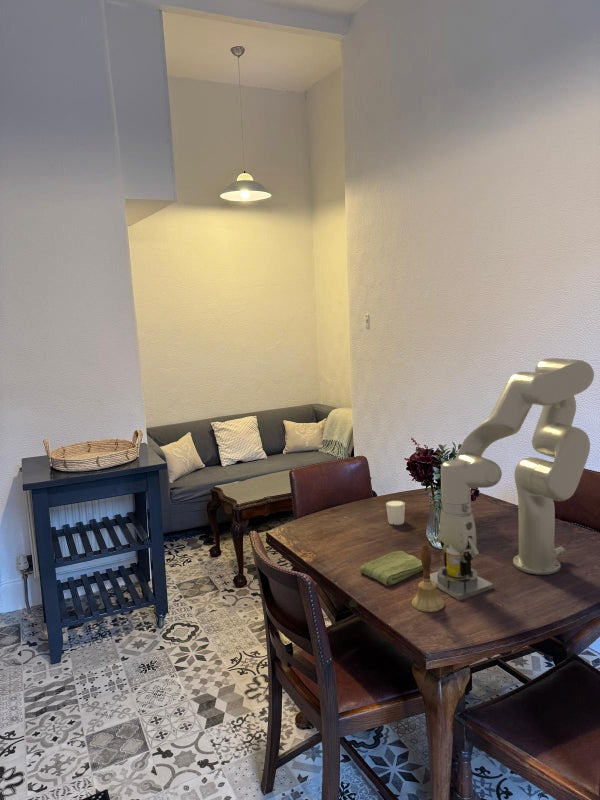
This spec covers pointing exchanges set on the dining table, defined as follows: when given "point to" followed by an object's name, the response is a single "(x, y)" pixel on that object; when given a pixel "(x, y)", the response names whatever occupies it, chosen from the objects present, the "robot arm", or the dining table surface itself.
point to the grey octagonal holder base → (460, 584)
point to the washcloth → (392, 567)
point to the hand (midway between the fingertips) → (457, 569)
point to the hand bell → (427, 587)
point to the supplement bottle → (454, 563)
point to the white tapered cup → (395, 512)
